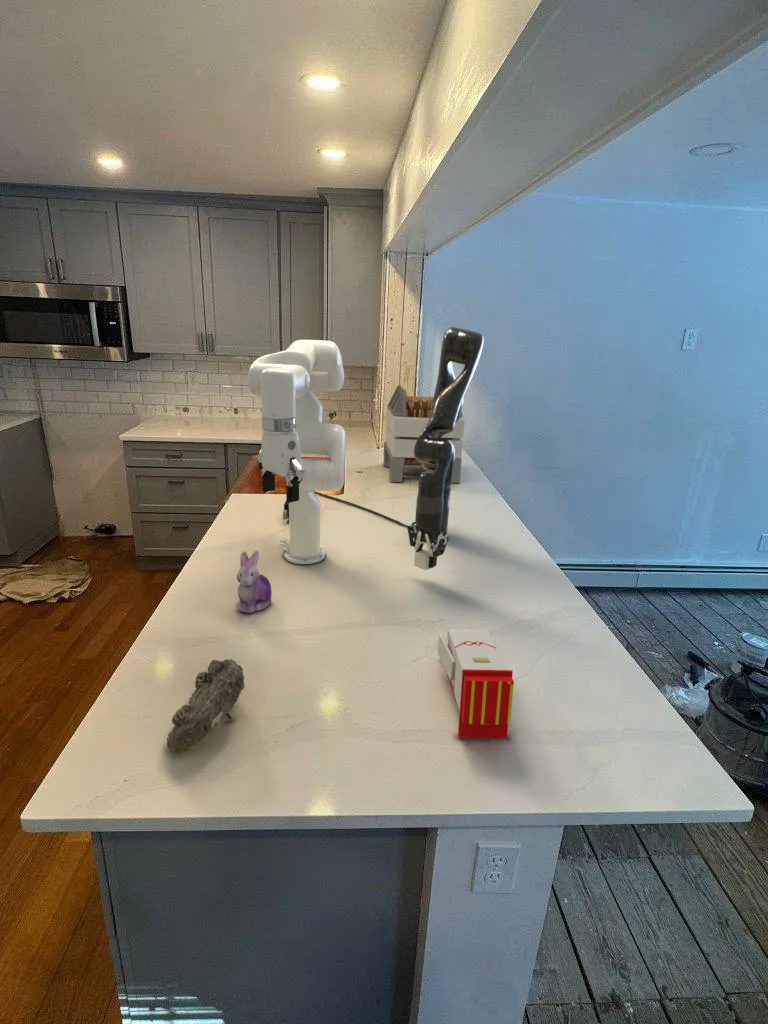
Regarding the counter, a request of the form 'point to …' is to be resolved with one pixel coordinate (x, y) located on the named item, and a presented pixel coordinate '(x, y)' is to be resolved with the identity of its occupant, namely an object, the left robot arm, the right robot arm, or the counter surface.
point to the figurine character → (286, 511)
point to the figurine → (252, 585)
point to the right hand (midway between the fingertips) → (425, 564)
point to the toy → (478, 682)
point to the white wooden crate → (413, 433)
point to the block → (422, 559)
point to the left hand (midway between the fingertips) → (280, 496)
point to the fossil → (206, 705)
